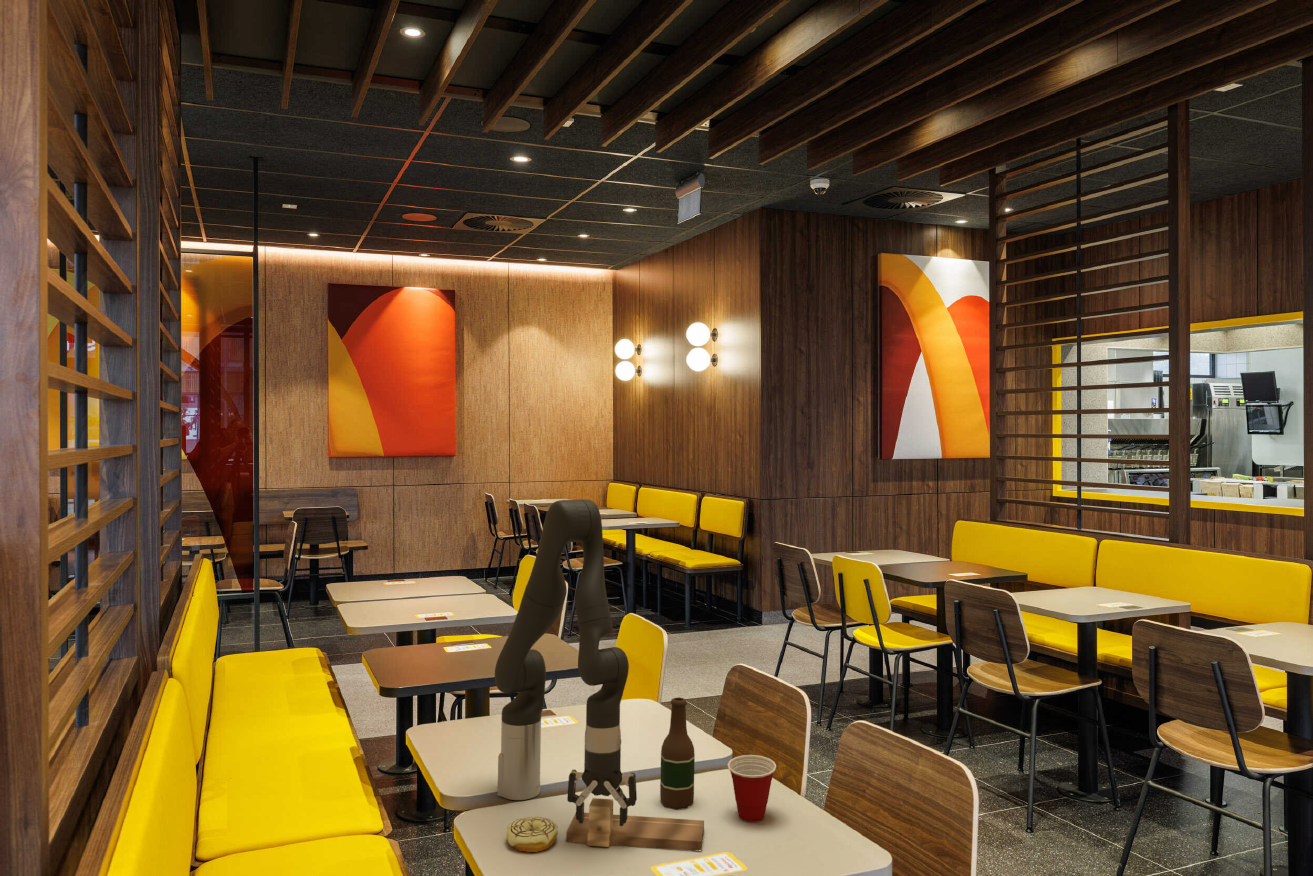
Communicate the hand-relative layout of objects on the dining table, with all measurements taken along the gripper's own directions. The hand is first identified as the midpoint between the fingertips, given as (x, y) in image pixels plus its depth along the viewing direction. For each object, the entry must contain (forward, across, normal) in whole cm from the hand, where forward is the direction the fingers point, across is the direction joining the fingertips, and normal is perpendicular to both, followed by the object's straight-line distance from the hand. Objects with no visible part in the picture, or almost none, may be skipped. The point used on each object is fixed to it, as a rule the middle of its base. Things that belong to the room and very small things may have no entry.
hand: (601, 823), depth 185 cm
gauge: (+3, 0, +2) cm, 4 cm away
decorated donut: (+4, -14, -2) cm, 15 cm away
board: (+4, +7, +4) cm, 9 cm away
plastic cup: (+4, +31, +17) cm, 35 cm away
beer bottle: (+4, +14, +22) cm, 26 cm away
